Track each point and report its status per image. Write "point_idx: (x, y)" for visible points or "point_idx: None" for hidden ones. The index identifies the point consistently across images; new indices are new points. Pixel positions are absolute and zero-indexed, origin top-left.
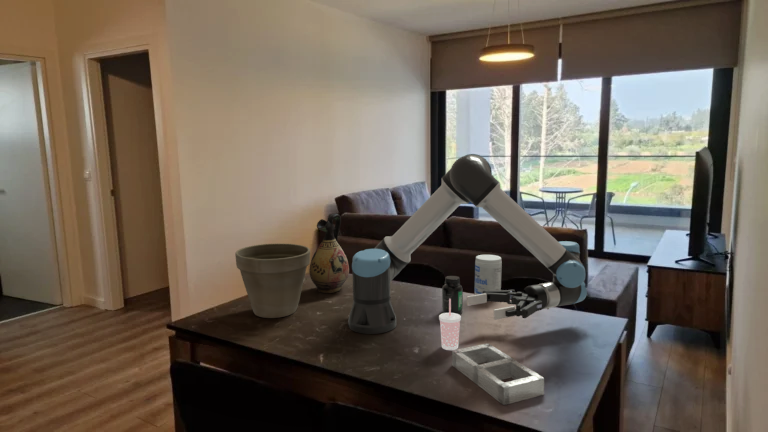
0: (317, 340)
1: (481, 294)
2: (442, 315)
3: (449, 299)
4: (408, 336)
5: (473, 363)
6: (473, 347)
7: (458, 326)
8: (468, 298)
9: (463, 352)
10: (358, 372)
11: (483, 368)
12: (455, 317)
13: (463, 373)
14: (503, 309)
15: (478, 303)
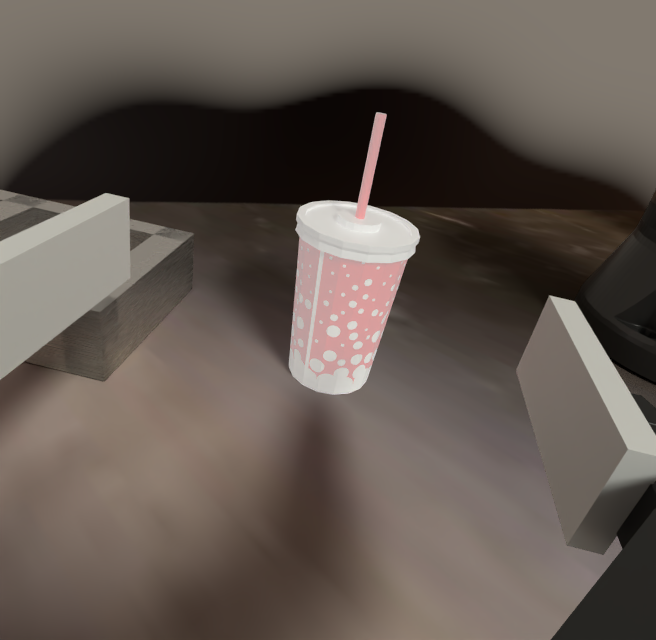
0: (558, 248)
1: (612, 396)
2: (394, 222)
3: (378, 115)
4: (515, 351)
5: (57, 207)
6: (138, 266)
7: (301, 268)
8: (543, 309)
9: (148, 240)
10: None
11: (2, 198)
12: (330, 225)
13: None
14: (50, 227)
15: (539, 441)
